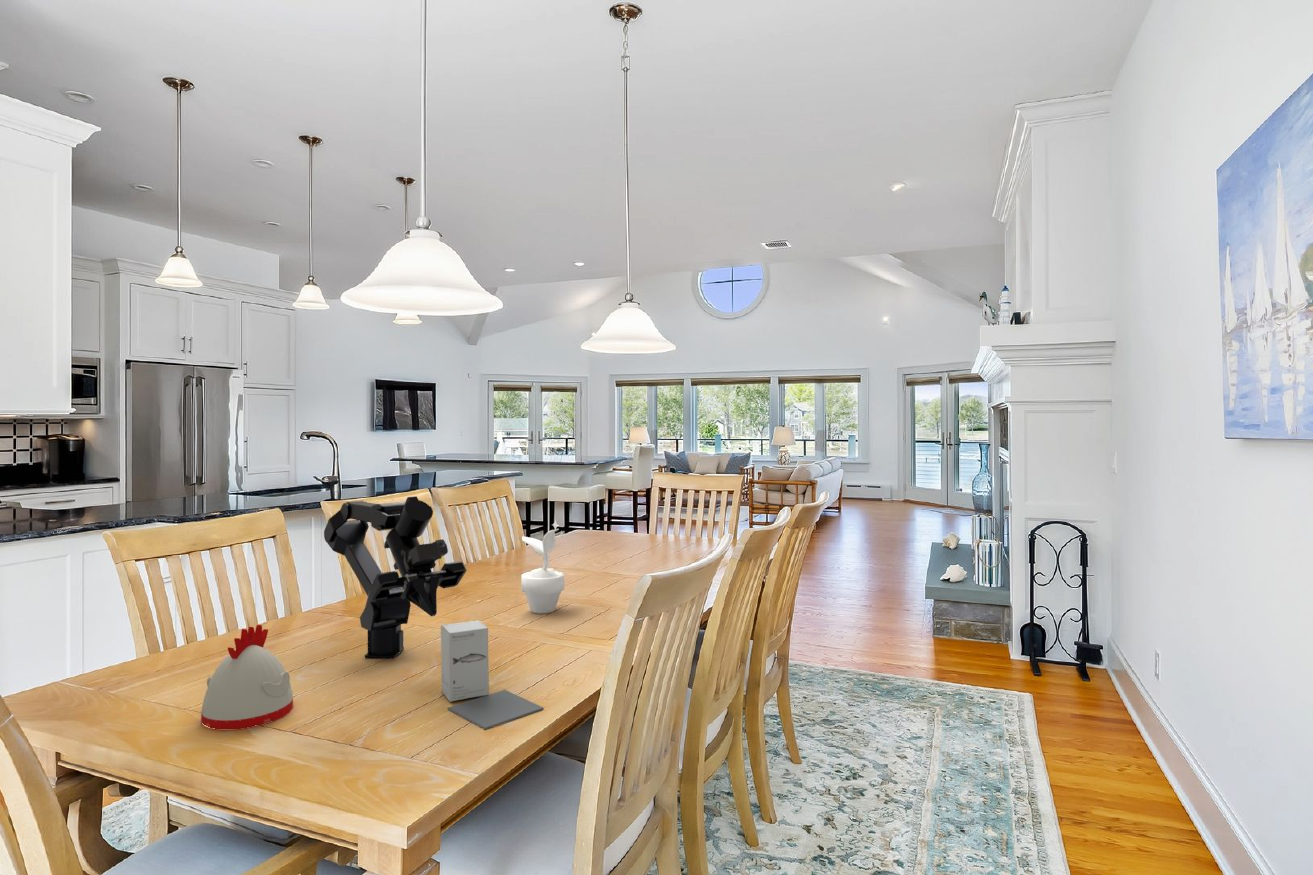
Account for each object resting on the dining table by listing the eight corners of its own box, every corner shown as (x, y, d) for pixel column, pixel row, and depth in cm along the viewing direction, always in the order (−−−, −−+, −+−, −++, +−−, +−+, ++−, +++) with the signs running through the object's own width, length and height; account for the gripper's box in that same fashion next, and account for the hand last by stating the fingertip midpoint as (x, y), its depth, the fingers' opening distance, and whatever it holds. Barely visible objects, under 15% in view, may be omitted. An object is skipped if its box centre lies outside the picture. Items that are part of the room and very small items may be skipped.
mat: (447, 709, 127) (447, 707, 127) (504, 691, 136) (504, 689, 136) (484, 729, 119) (484, 727, 119) (543, 709, 128) (543, 707, 128)
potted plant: (573, 609, 196) (573, 517, 195) (544, 619, 186) (545, 522, 185) (538, 602, 202) (538, 513, 202) (508, 611, 193) (508, 518, 192)
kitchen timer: (310, 702, 131) (309, 619, 130) (251, 734, 117) (251, 642, 117) (245, 695, 134) (244, 614, 134) (181, 725, 120) (180, 636, 120)
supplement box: (449, 703, 130) (447, 632, 130) (441, 690, 136) (439, 623, 136) (490, 695, 133) (488, 627, 133) (480, 683, 140) (479, 618, 140)
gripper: (375, 532, 139) (402, 599, 132) (461, 523, 152) (490, 583, 145) (358, 567, 145) (383, 633, 137) (442, 555, 158) (469, 614, 151)
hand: (434, 614), depth 142 cm, fingers closed
